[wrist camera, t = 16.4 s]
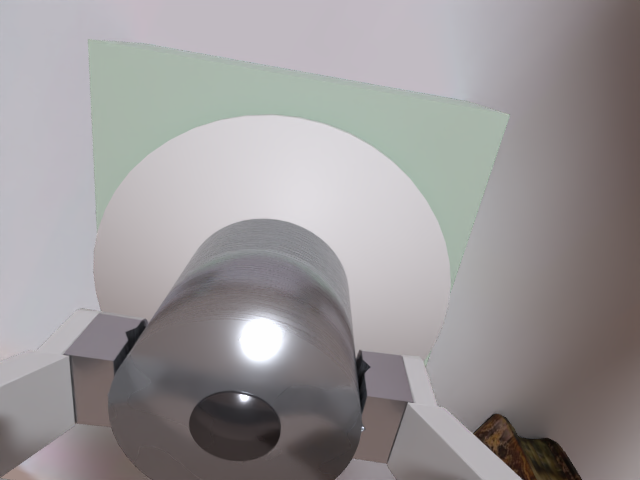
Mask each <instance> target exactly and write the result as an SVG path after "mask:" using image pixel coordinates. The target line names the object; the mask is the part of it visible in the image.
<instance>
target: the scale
mask: <svg viewBox="0 0 640 480" xmlns="http://www.w3.org/2000/svg"><path fill="white" fill-rule="evenodd" d="M88 52H89V73H90V94H91V115H92V136H93V158H94V179H95V200H96V221H97V237H96V242H95V248H94V269H93V273H94V281H95V288H96V294H97V298H98V301H99V305H100V309H101V311H102V312H110V313H116V314H122V315H128V316H134V317H140V318H146V320H147V321H148V323H149V322H150V320H151V319H152V317H153V316H154V314H155V313H156V311H157V310H158V308H159V307H160V305H161V304H162V302H163V301H164V299H165V298H166V296H167V295H168V293H169V292H170V290H171V289H172V287H173V286H174V284H175V282H176V281H177V279H178V278H179V276H180V275H181V273H182V272H183V270H184V269H185V267H186V266H187V264H188V263H189V261H190V260H191V258H192V257H193V255H194V254H195V252H196V251H197V249H198V248H199V247H200V245H201V244H202V243H203V242H204V241H205V240H206V239H207V238H208V237H210V236H211V235H212V234H213V233H215V232H217V231H218V230H220V229H222V228H223V227H226V226H228V225H230V224H233V223H236V222H240V221H243V220H250V219H266V218H267V219H276V220H282V221H286V222H290V223H293V224H296V225H298V226H301V227H303V228H305V229H307V230H309V231H311V232H312V233H314V234H315V235H317V236H318V237H320V238H321V239H322V240H323V241H324V242H325V243H326V244H328V245H329V247H330V248H331V249H332V250H333V251H334V252H335V254H336V255H337V257H338V258H339V260H340V261H341V264H342V266H343V268H344V270H345V273H346V276H347V280H348V286H349V295H350V305H351V315H352V325H353V335H354V345H355V355H356V357H357V354H358V352H359V350H366V351H373V352H380V353H388V354H395V355H409V356H418V357H421V358H422V359H423V362H424V365H425V368H426V365H427V362H428V359H429V356H430V353H431V350H432V348H433V346H434V344H435V342H436V341H437V338H438V336H439V333H440V331H441V329H442V326H443V324H444V320H445V316H446V313H447V309H448V305H449V296H450V293H451V290H452V287H453V284H454V281H455V278H456V275H457V272H458V269H459V266H460V263H461V260H462V257H463V254H464V251H465V248H466V245H467V242H468V239H469V236H470V233H471V230H472V227H473V224H474V221H475V218H476V215H477V212H478V209H479V206H480V203H481V200H482V198H483V195H484V192H485V189H486V186H487V183H488V180H489V177H490V174H491V171H492V168H493V165H494V162H495V159H496V156H497V153H498V150H499V147H500V144H501V141H502V138H503V135H504V132H505V129H506V126H507V123H508V120H509V117H510V114H506V113H503V112H500V111H497V110H493V109H490V108H487V107H484V106H480V105H477V104H474V103H471V102H467V101H462V100H457V99H451V98H445V97H440V96H434V95H429V94H423V93H418V92H412V91H406V90H401V89H395V88H390V87H384V86H379V85H373V84H367V83H362V82H356V81H351V80H345V79H339V78H334V77H328V76H323V75H317V74H312V73H306V72H300V71H295V70H289V69H284V68H278V67H273V66H267V65H261V64H256V63H250V62H245V61H239V60H234V59H228V58H222V57H217V56H211V55H206V54H200V53H194V52H189V51H183V50H178V49H172V48H167V47H161V46H155V45H150V44H144V43H130V42H117V41H103V40H90V39H88Z"/></svg>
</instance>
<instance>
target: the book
mask: <svg viewBox="0 0 640 480" xmlns="http://www.w3.org/2000/svg"><path fill="white" fill-rule="evenodd" d="M474 435H475V436H476V437H477V438H478V439H479V440H480V441H481V442H482V443H483V444H484V445H486V446H487V447H488V448H489V449H490V450H491V451H492V452H493V453H494V454H495V455H496V456H498V457H499V458H500V459H501V460H502V461H503V462H504V463H505V464H506V465H507V466H508V467H509V468H511V469H512V470H513V471H514V472H515V473H516V474H517V475H518V476H519V477H520V478H521V479H522V480H582V479H581V477H580V475H579V474H578V472H577V470H576V469H575V467H574V466H573V464H572V462H571V461H570V459H569V458H568V456H567V454H566V453H565V452H564V451H563V449H562V448H561V447H560V445H559V444H558V443H557V442H555V441H553V440H551V439H549V438H545V439H526V438H522V437H519V436H518V435H517V433H516V431H515V429H514V427H512V425H511V423H510V422H509V421H508V419H507V418H506V417H504V416H502V415H500V414H495V415H493V416H492V417H491V418H490V419H489V420H488V421H486V422H485V423H484V424H483V425H482V426H481V427H480V428H479V429H478V430H477V431H476V432H475V433H474Z"/></svg>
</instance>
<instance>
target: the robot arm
mask: <svg viewBox="0 0 640 480" xmlns="http://www.w3.org/2000/svg"><path fill="white" fill-rule="evenodd" d="M147 325H148V321H147V320H146V318H140V317H134V316H128V315H122V314H116V313H110V312H102V311H97V310H90V309H84V308H81V309H78V310H76V311H75V312H74V313H73V314H72V315H71V316H70V317H69V318H68V319H67V320H66V321H65V322H64V323H63V324H62V325H61V326H60V327H59V328H58V329H57V330H56V331H55V332H54V333H53V334H52V335H51V336H50V337H49V338H48V339H47V340H46V341H45V342H44V343H43V344H42V345H41V346H40V347H39V348H38V349H37V350H36V351H31V350H28V351H25V352H23V353H20V354H18V355H15V356H12V357H10V358H7V359H5V360H2V361H0V480H10V479H2V478H1V477H2V476H4V475H5V474H6V473H8V472H9V471H11V470H12V469H14V468H15V467H16V466H18V465H19V464H21V463H22V462H24V461H25V460H26V459H28V458H29V457H31V456H32V455H34V454H35V453H37V452H38V451H39V450H41V449H42V448H44V447H45V446H47V445H48V444H49V443H51V442H52V441H54V440H55V439H57V438H58V437H59V436H61V435H62V434H64V433H65V432H67V431H68V430H70V429H71V428H72V427H74V426H75V423H77V424H87V425H96V426H106V427H111V424H110V421H109V413H108V396H109V391H110V387H111V383H112V381H113V379H114V376H115V374H116V372H117V370H118V369H119V367H120V366H121V364H122V363H123V361H124V360H125V358H126V357H127V355H128V354H129V352H130V351H131V349H132V348H133V346H134V345H135V343H136V342H137V340H138V338H139V337H140V335H141V334H142V332H143V331H144V329H145V328H146V326H147ZM356 365H357V375H358V385H359V395H360V405H361V415H362V431H361V436H360V441H359V444H358V447H357V450H356V452H355V454H354V456H353V458H354V459H361V460H367V461H373V462H380V463H386V464H387V466H388V468H389V469H390V471H391V472H392V474H393V475H394V477H395V478H396V480H522V479H521V478H520V477H519V476H518V475H517V474H516V473H515V472H514V471H513V470H512V469H511V468H509V467H508V466H507V465H506V464H505V463H504V462H503V461H502V460H501V459H500V458H499V457H498V456H496V455H495V454H494V453H493V452H492V451H491V450H490V449H489V448H488V447H487V446H486V445H484V444H483V443H482V442H481V441H480V440H479V439H478V438H477V437H476V436H475V435H474V434H473V433H471V432H470V431H469V430H468V429H467V428H466V427H465V426H464V425H463V424H462V423H461V422H460V421H458V420H457V419H456V418H455V417H454V416H453V415H452V414H451V413H450V412H449V411H448V410H447V409H445V408H444V407H438V404H437V401H436V398H435V395H434V392H433V389H432V386H431V383H430V380H429V377H428V374H427V371H426V368H425V365H424V362H423V359H422V358H421V357H418V356H409V355H395V354H388V353H380V352H373V351H366V350H359V352H358V354H357V357H356Z"/></svg>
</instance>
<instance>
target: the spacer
mask: <svg viewBox="0 0 640 480" xmlns="http://www.w3.org/2000/svg"><path fill="white" fill-rule="evenodd" d="M108 413H109V421H110V424H111V428H112V431H113V434H114V436H115V438H116V440H117V442H118V444H119V446H120V447H121V449H122V450H123V452H124V453H125V455H126V456H127V457H128V458H129V459H130V461H131V462H132V463H133V464H134V465H135V466H136V467H137V468H138V469H139V470H140V471H141V472H143V473H144V474H145V475H146V476H147V477H149V478H150V479H152V480H335V479H336V478H337V477H338V476H339V475H340V474H341V473H342V472H343V471H344V469H345V468H346V467H347V466H348V464H349V463H350V461H351V459H352V458H353V456H354V454H355V452H356V450H357V447H358V444H359V441H360V436H361V431H362V415H361V405H360V395H359V385H358V375H357V365H356V355H355V345H354V335H353V325H352V315H351V305H350V295H349V286H348V280H347V276H346V273H345V270H344V268H343V266H342V264H341V261H340V260H339V258H338V257H337V255H336V254H335V252H334V251H333V250H332V249H331V248H330V247H329V245H328V244H326V243H325V242H324V241H323V240H322V239H321V238H320V237H318V236H317V235H315V234H314V233H312V232H311V231H309V230H307V229H305V228H303V227H301V226H298V225H296V224H293V223H290V222H286V221H282V220H276V219H267V218H266V219H250V220H243V221H240V222H236V223H233V224H230V225H228V226H226V227H223V228H222V229H220V230H218V231H217V232H215V233H213V234H212V235H211V236H210V237H208V238H207V239H206V240H205V241H204V242H203V243H202V244H201V245H200V247H199V248H198V249H197V251H196V252H195V254H194V255H193V257H192V258H191V260H190V261H189V263H188V264H187V266H186V267H185V269H184V270H183V272H182V273H181V275H180V276H179V278H178V279H177V281H176V282H175V284H174V286H173V287H172V289H171V290H170V292H169V293H168V295H167V296H166V298H165V299H164V301H163V302H162V304H161V305H160V307H159V308H158V310H157V311H156V313H155V314H154V316H153V317H152V319H151V320H150V322H149V323H148V325H147V326H146V328H145V329H144V331H143V332H142V334H141V335H140V337H139V338H138V340H137V342H136V343H135V345H134V346H133V348H132V349H131V351H130V352H129V354H128V355H127V357H126V358H125V360H124V361H123V363H122V364H121V366H120V367H119V369H118V370H117V372H116V374H115V376H114V379H113V381H112V383H111V387H110V391H109V396H108Z"/></svg>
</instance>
